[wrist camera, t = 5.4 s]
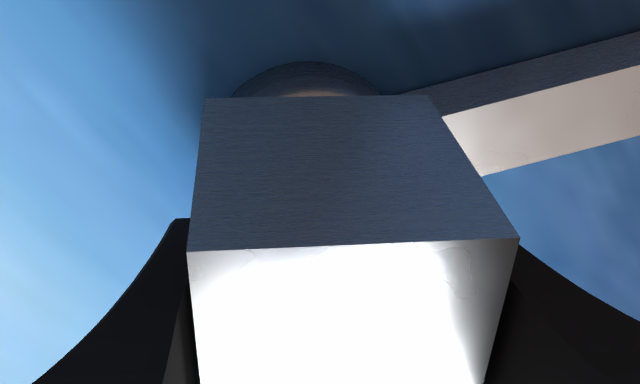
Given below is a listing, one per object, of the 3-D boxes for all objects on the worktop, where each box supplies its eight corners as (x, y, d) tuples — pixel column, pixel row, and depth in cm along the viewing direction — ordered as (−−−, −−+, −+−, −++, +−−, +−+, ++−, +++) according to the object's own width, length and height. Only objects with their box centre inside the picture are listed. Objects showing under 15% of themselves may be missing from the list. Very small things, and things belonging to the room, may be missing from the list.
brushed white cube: (217, 274, 16) (208, 464, 11) (204, 97, 13) (186, 251, 9) (403, 266, 17) (467, 443, 12) (426, 94, 14) (520, 237, 9)
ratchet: (243, 244, 19) (244, 369, 14) (184, 91, 16) (164, 191, 12) (850, 88, 18) (1031, 171, 14) (901, -101, 15) (1148, -66, 11)
